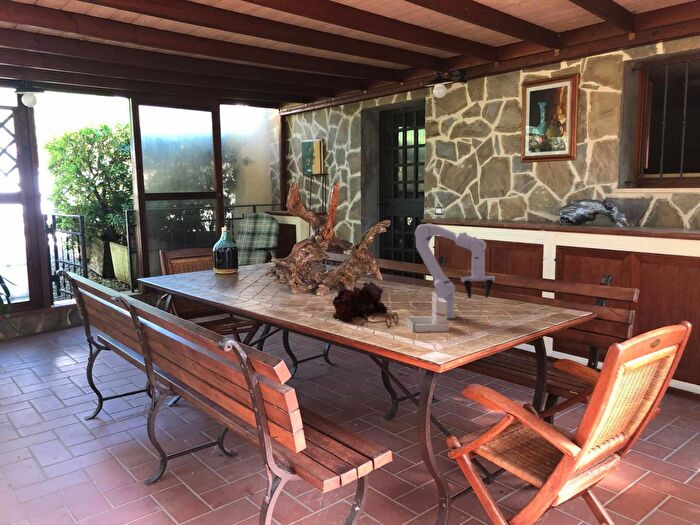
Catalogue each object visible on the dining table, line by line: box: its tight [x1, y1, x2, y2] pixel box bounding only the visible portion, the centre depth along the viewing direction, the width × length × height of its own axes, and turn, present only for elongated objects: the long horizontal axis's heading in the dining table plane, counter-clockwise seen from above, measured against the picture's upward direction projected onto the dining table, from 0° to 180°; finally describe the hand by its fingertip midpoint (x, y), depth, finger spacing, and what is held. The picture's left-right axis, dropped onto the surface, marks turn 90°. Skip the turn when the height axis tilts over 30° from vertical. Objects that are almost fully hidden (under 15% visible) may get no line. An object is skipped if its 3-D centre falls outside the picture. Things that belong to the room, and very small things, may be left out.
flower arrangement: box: [331, 281, 388, 323], centre depth 254 cm, size 31×20×15 cm, turn 144°
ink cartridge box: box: [431, 291, 448, 324], centre depth 230 cm, size 9×5×15 cm, turn 4°
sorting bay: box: [406, 315, 450, 333], centre depth 230 cm, size 14×15×3 cm
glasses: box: [359, 312, 399, 328], centre depth 237 cm, size 13×13×5 cm
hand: (477, 297), depth 240 cm, fingers open, 7 cm apart
